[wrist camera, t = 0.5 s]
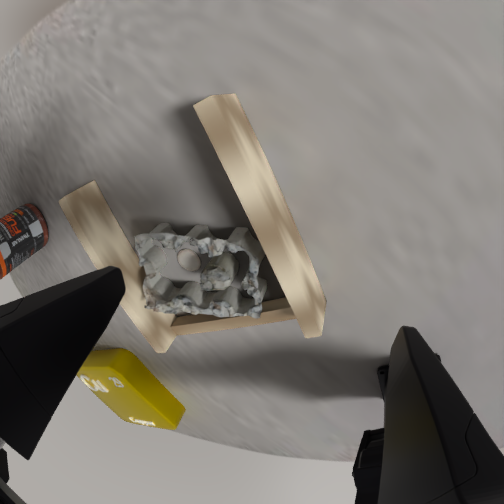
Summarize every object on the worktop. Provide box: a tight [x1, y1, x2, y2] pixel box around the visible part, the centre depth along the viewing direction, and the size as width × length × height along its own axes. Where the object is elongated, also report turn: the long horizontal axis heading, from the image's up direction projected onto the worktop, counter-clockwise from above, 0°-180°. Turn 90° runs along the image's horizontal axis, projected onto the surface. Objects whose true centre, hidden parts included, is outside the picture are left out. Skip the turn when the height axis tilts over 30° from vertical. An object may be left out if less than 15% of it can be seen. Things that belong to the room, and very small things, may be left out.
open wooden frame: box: [59, 94, 326, 353], centre depth 23 cm, size 17×16×4 cm
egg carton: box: [134, 223, 267, 319], centre depth 24 cm, size 11×8×4 cm
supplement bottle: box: [0, 204, 48, 279], centre depth 26 cm, size 6×6×11 cm
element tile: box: [77, 348, 186, 430], centre depth 41 cm, size 15×15×5 cm
